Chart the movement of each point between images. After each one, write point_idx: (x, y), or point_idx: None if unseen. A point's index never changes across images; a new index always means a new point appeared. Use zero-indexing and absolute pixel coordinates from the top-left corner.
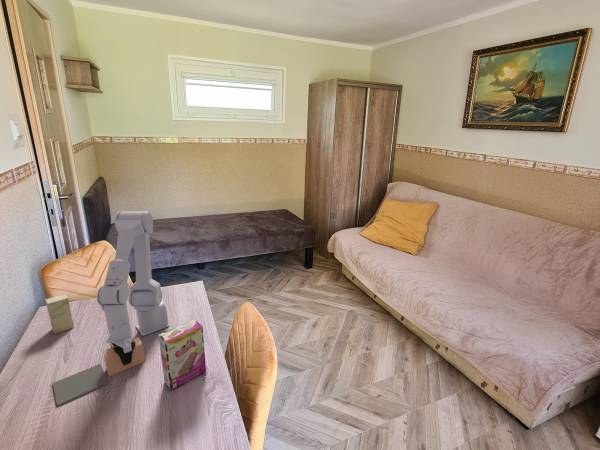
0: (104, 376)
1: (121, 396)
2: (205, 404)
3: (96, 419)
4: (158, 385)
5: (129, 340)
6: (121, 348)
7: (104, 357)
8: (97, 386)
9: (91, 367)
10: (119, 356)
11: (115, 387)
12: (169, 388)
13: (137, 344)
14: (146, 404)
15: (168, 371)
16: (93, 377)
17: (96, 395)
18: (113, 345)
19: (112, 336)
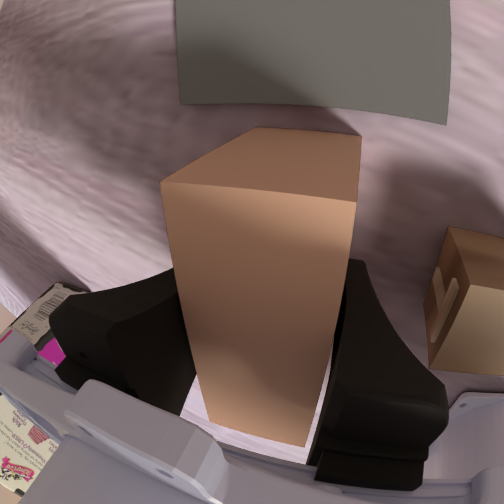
0: (257, 96)
1: (78, 145)
2: (22, 298)
3: (31, 50)
4: (85, 271)
5: (53, 440)
6: (73, 359)
7: (333, 167)
8: (182, 43)
9: (448, 59)
10: (135, 282)
11: (138, 132)
12: (63, 284)
13: (216, 410)
14: (32, 207)
15: (3, 331)
16: (303, 30)
17: (136, 36)
18: (482, 300)
19: (41, 488)
